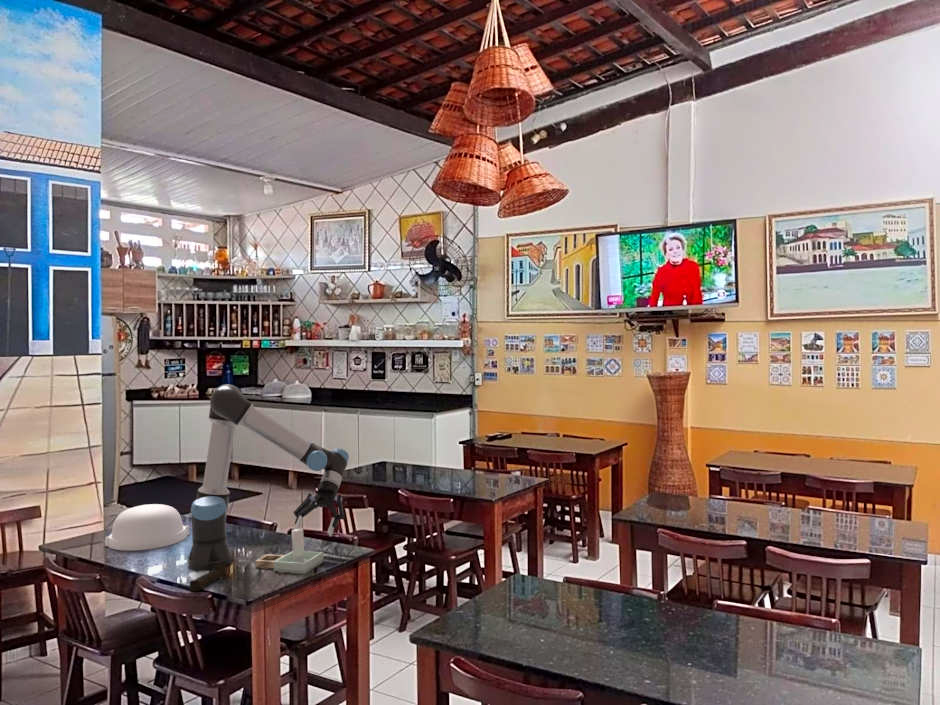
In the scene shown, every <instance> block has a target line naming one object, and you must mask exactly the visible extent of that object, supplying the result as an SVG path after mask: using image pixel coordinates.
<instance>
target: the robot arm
mask: <svg viewBox="0 0 940 705" xmlns="http://www.w3.org/2000/svg"><path fill="white" fill-rule="evenodd" d="M209 404H210V405H209V406H210V407H209V414H208V415H209V416H208V419H209V421H210V422H211V428H210V429H211V430H210V435H209V436H210V437H209V443H208V448H207V453H206V454H207V456H206V461H205V462H206V463H205V470H204V477H203V482H202V485H201V487H199V488H198V489H197V494H196V499H195V500H194V501H193V502H192V503H191V508H190V514H191V533H192V538H191V539H192V546H191V549H190V553H189V556H188V559H187V568H189V569H191V570H195V571H196V570H197V571H207V570H209V571H210V570H212V569H213V567H214V566H215V565H217V564H219V563H222V562H223V563H225V567H226V566H229V565H231V562H232V563H233V554H232V552H231V549H230V546H229V543H228V541H227V514H228V510H229V500H230V493H231V492H230V490H229V489H228V488H227V486H228V479H229V472H230V465H231V459H232V452H233V445H234V438H235V433H236V432H235V431H236V426H243V427H244V428H246V429H248V430H249V431H250V432H252V433H255V434H256V435H257V436H259V437H260V438H262V439H264V440H265V441H267V442H269V443H270V444H272V445H274V446H275V447H277V448H278V449H279V450H280V449H281V451H283V452H285V453H287V454H288V455H290V456H291V457H293V458H295V459H296V460H297V461H299V462H301V463H303V465H306V466H307V467H308V468H309V470H312V471H314V472H319V471H322V470H324V471H323V474H322V477H321V480H320V482H319V485H318V487H317V490H316V494H315V495H314V494H312V493H308V494H307V496H306V498H305V499H304V500H303V501H302V502H301V503H300V505H299V506H298V507H297V508H296V509H295V510H294V511H293V514H294V516H295V521H294V524H295V526H294V529H302V526H303V522H304V517H305V516H307V515H309V513H311V512H312V511H314V509H317V508H323V507H324V508H328V507H329V508H330V511H331V512H332V515H333V517H332V518H331V521H330V523H329V526H328V529H327V535H328V536H329V537H332V536H333V534H334V531H335V528H337V527H338V524H339V522H340V520H345V518H346V517H345V512H344V507H343V501H344V499H343V497H342V495H341V494H338V491H339V488H340V485H341V484H342V483H341V482H342V481H343V476H344V475H345V471H346V469H347V466H348V463H349V459H350V455H349V453H348V452H347V451H346V450H344V449H342V448H333V449H332V450H331V451H330V450H327V449H326V448H324V447H321V446H320V445H317V444H315V443H314V442H310V441H307V440H306V439H304V438H302V437H301V436H299V435H298V434H296V433H294V432H293V431H292V430H290V429H288V428H286V427H285V426H284V425H282V424H281V423H279V422H278V421H275V420H274V419H273V418H271V417H269V416H267V415H266V414H264V413H263V412H262V411H260V410H259V409H257V408H255V406H254V404H253V402H251V401H249V400H248V399H247V398H245V395H244V392H243V391H242V389H240V388H239V387H238V386H236V385H234V384H227V383H226V384H221V385H220V386H217V388H215V389H214V391H213V392H212V394H211V396H210V399H209ZM334 502H336V504H337V508H338V513H339V514H338V513H337V511H336V509H335V507H334V505H333V503H334ZM294 529H293V530H294ZM228 564H229V565H228Z"/></svg>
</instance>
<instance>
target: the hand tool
mask: <svg viewBox="0 0 940 705" xmlns="http://www.w3.org/2000/svg"><path fill="white" fill-rule="evenodd" d="M226 571H227V569H226V566H225V563H223V562H222V563H219V564H217V565H215V566H214V567H213V569H210V570H209V571H208V572H206V573H204V574H203V575H201V576H200V577H198V578H196V579H194V580H190V582H189V590H190V591H191V592H200V591H202V590H203V588H205V587H206V586H207V585H209V584H211V583H213V582H214V581H216V580H218V579H217V578H220V579H222V578H223V577H224V576H225V575H226ZM224 574H225V575H224ZM223 575H224V576H223ZM222 576H223V577H222ZM221 577H222V578H221Z"/></svg>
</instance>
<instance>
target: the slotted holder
mask: <svg viewBox="0 0 940 705" xmlns="http://www.w3.org/2000/svg"><path fill="white" fill-rule="evenodd" d="M285 555H286V554H271V553H270V554H268V553H267V554H265V555H263V556H261V557H259V558H258V559H256V560H254V561H255V568H256V567H263V568H262V569H268V568H274V561H276V560H278V559H279V558H281V557H283V556H285Z"/></svg>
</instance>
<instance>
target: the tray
mask: <svg viewBox="0 0 940 705" xmlns="http://www.w3.org/2000/svg"><path fill="white" fill-rule="evenodd" d="M284 555H285V556H283V557H281V558H279V559H278V560H276V561H274V569H273V572H274V571H278V572H277V573H285V572H290V574H299V575H300V574H302V575H303V574H304V575H305V574H308V573H309V572H310V571H312V570H313V569H315V568H317V567H318V566H319V565H321V564H323V563H324V551H310V550H309V551H308V550H304V556H305V563H297V562H293V550H291V551H290V552H288V553H286V554H284Z"/></svg>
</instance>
